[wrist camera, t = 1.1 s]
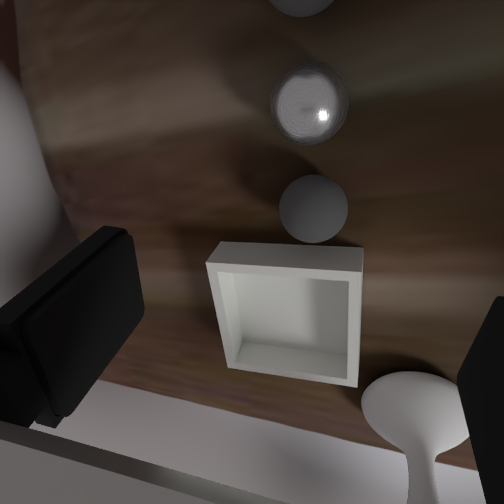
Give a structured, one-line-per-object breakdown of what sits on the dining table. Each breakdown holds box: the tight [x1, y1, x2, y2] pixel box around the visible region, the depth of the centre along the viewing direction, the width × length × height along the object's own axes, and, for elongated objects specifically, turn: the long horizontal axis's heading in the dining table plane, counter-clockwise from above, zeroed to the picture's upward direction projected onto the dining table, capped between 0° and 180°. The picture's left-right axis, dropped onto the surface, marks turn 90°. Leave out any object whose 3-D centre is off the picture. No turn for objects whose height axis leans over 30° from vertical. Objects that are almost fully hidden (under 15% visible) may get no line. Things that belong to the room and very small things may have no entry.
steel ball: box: [270, 61, 349, 145], centre depth 26 cm, size 6×6×6 cm
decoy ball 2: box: [279, 174, 348, 243], centre depth 30 cm, size 6×6×6 cm
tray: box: [206, 241, 364, 388], centre depth 38 cm, size 14×14×4 cm
